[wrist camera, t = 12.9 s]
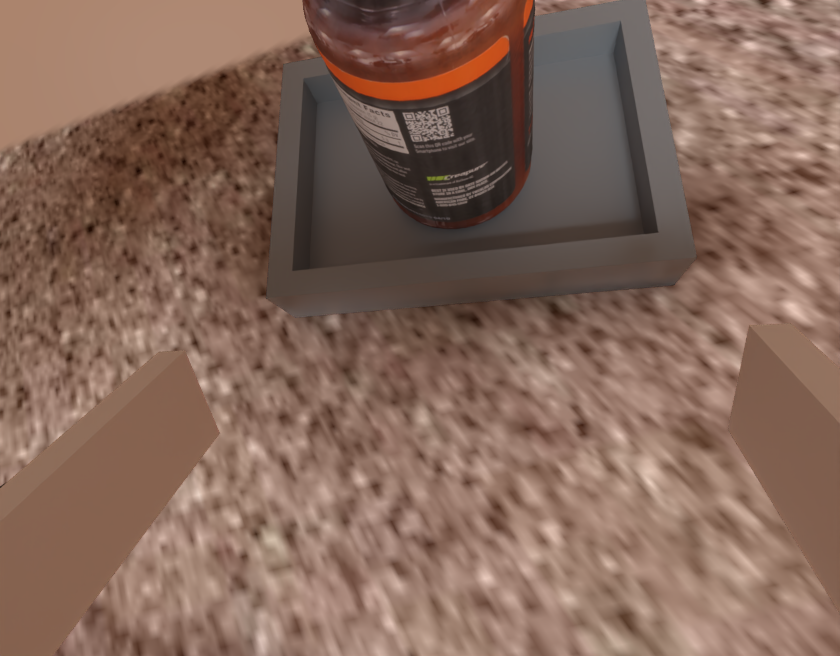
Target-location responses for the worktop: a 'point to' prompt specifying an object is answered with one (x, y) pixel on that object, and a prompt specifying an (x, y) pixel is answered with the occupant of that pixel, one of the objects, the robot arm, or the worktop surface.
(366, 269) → the tray
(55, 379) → the worktop surface
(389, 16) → the supplement bottle
